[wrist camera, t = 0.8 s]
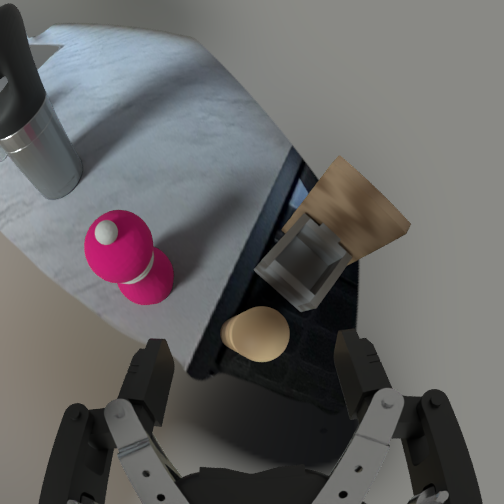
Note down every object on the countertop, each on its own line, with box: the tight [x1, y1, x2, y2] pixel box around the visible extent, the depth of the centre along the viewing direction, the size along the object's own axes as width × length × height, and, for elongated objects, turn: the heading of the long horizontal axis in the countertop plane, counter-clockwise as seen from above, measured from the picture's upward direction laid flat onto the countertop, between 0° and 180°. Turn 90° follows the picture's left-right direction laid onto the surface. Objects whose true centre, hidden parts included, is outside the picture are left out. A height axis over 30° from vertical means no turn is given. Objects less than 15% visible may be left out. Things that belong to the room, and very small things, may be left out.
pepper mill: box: [84, 210, 174, 305], centre depth 26 cm, size 7×7×20 cm
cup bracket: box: [254, 156, 411, 312], centre depth 31 cm, size 10×10×18 cm
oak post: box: [220, 306, 289, 362], centre depth 28 cm, size 4×4×16 cm
